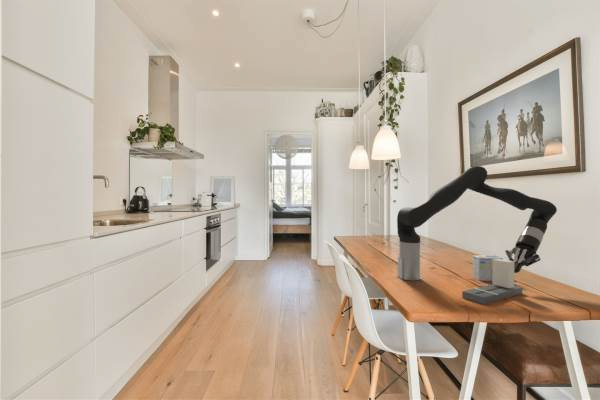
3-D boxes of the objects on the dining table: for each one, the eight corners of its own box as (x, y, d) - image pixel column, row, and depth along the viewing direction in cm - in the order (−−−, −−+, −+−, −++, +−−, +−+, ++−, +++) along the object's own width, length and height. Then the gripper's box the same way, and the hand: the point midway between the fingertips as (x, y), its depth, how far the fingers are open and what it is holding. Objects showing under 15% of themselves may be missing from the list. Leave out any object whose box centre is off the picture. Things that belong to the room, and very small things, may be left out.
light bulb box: (495, 277, 141) (495, 255, 141) (503, 281, 135) (503, 258, 135) (471, 277, 142) (471, 254, 142) (478, 281, 136) (478, 257, 136)
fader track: (485, 305, 105) (485, 297, 105) (460, 297, 113) (460, 290, 113) (524, 294, 117) (524, 287, 117) (499, 287, 125) (499, 281, 125)
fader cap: (508, 288, 115) (508, 262, 114) (492, 284, 120) (492, 259, 120) (514, 286, 116) (514, 261, 116) (497, 282, 122) (498, 258, 122)
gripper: (551, 248, 123) (536, 281, 117) (515, 243, 134) (500, 273, 128) (545, 235, 120) (529, 269, 114) (509, 232, 132) (493, 262, 126)
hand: (514, 271), depth 121 cm, fingers closed
